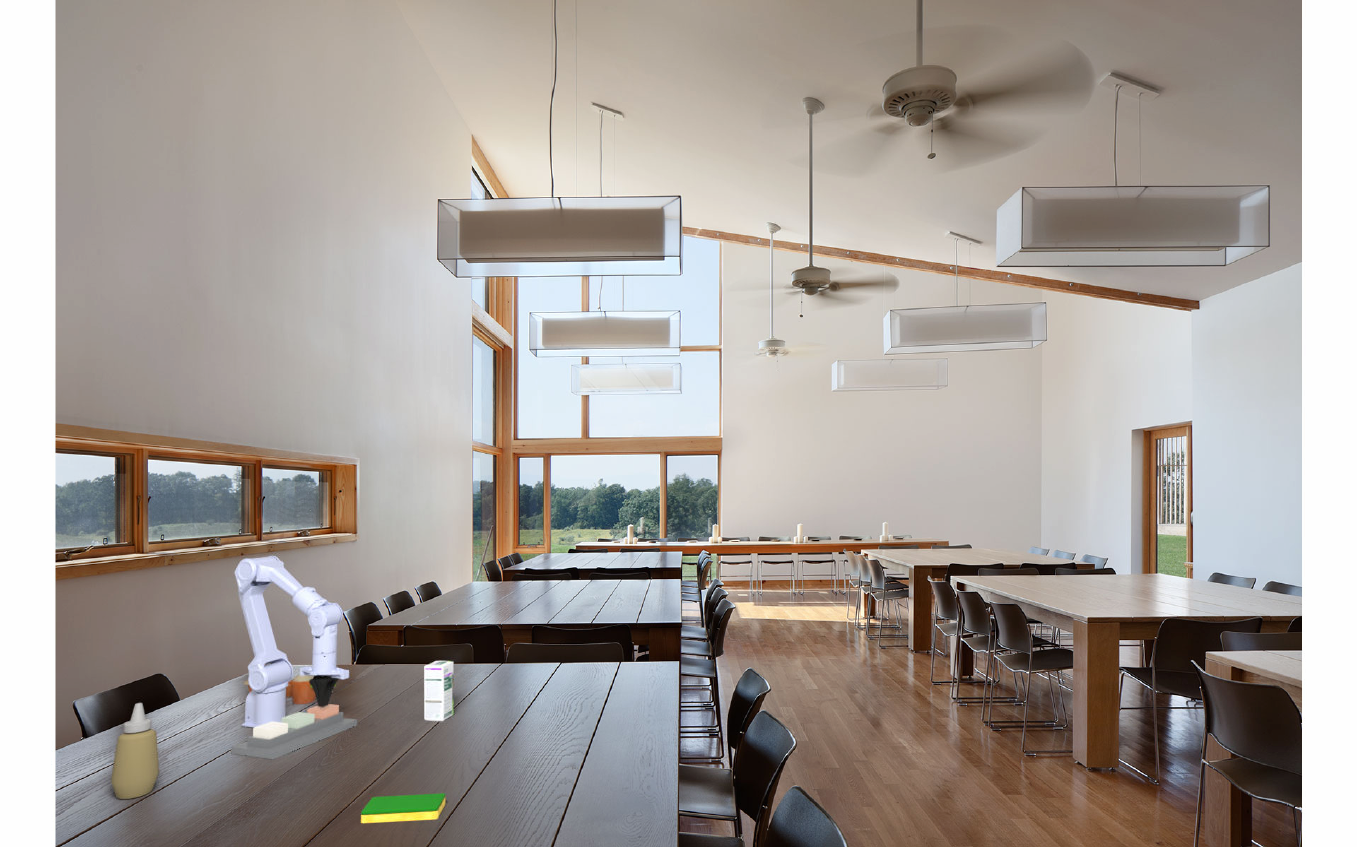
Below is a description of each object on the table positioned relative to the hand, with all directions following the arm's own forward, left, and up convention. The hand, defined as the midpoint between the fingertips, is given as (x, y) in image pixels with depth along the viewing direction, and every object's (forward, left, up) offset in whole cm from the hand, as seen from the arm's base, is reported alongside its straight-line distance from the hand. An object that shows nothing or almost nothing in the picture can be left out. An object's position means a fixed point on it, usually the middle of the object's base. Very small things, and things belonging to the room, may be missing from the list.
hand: (323, 705), depth 194 cm
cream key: (0, -16, -3) cm, 16 cm away
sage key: (0, -8, -3) cm, 9 cm away
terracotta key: (0, 0, -3) cm, 3 cm away
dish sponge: (+55, -35, -7) cm, 66 cm away
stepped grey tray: (0, -8, -6) cm, 10 cm away
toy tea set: (-34, +20, -6) cm, 40 cm away
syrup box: (+23, +17, -6) cm, 29 cm away
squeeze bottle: (-4, -45, -6) cm, 46 cm away
